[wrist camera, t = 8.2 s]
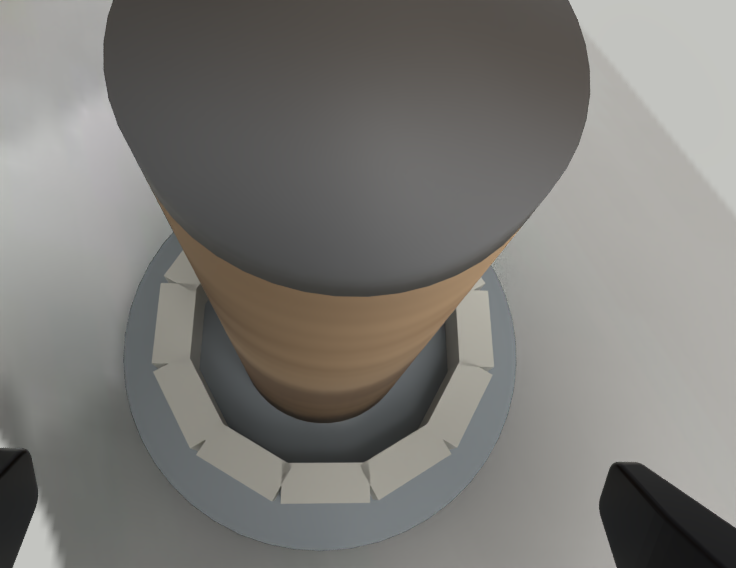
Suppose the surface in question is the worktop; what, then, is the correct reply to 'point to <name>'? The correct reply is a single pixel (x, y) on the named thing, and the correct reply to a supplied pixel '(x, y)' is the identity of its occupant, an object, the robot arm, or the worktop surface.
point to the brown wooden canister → (344, 166)
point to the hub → (307, 439)
